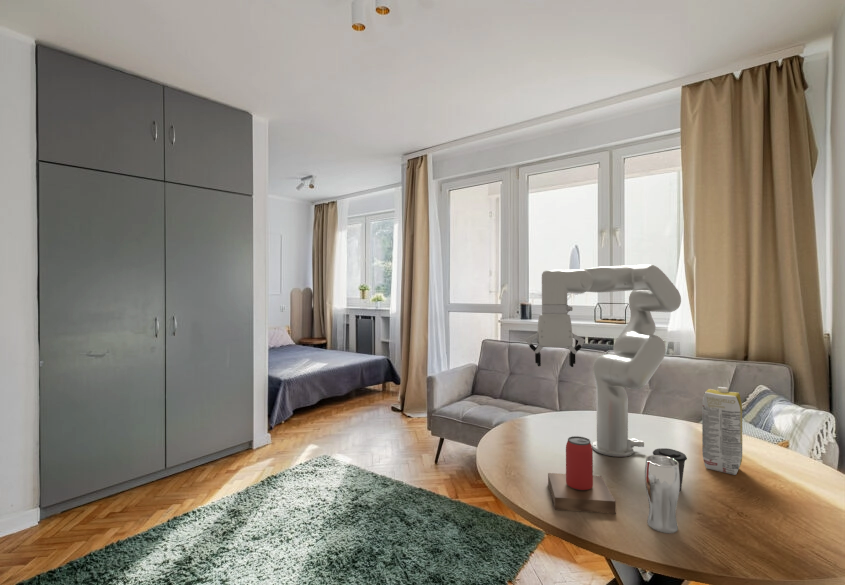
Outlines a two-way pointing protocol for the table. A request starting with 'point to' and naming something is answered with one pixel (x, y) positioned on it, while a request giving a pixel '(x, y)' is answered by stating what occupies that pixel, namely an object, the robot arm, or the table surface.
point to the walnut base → (581, 496)
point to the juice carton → (722, 430)
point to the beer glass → (662, 492)
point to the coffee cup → (675, 455)
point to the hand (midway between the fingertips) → (555, 365)
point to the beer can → (579, 463)
